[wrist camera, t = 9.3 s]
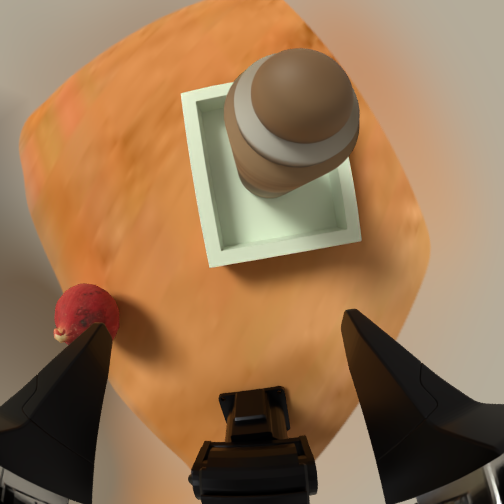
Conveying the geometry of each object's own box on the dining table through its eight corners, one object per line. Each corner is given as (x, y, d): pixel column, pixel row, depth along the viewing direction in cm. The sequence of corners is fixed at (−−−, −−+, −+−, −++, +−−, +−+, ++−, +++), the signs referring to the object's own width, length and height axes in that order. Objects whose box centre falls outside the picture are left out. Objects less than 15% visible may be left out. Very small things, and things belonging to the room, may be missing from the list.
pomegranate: (118, 267, 22) (67, 291, 15) (142, 325, 23) (103, 368, 15) (75, 283, 23) (23, 308, 15) (97, 336, 24) (55, 374, 16)
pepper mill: (295, 203, 21) (396, 184, 6) (232, 193, 20) (195, 146, 6) (303, 144, 20) (395, 37, 5) (242, 133, 20) (232, -1, 5)
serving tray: (345, 236, 22) (361, 241, 19) (216, 258, 22) (209, 267, 19) (317, 90, 20) (326, 73, 17) (190, 109, 20) (180, 93, 17)
